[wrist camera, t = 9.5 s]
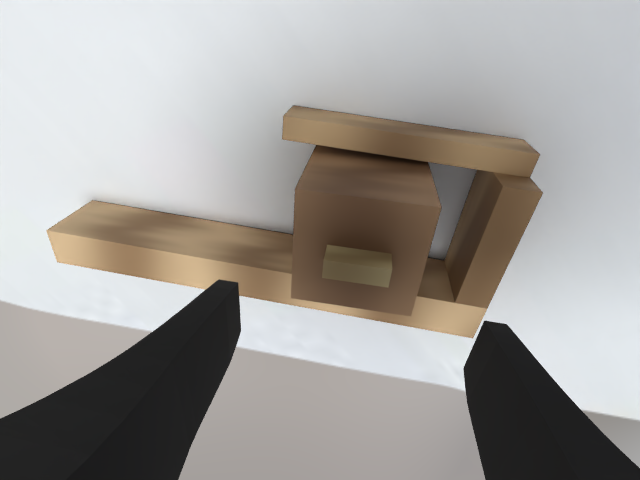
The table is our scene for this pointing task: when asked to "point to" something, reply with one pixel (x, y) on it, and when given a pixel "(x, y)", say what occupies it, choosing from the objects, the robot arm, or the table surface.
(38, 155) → the table surface
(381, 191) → the cabinet
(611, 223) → the table surface
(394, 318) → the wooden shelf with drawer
